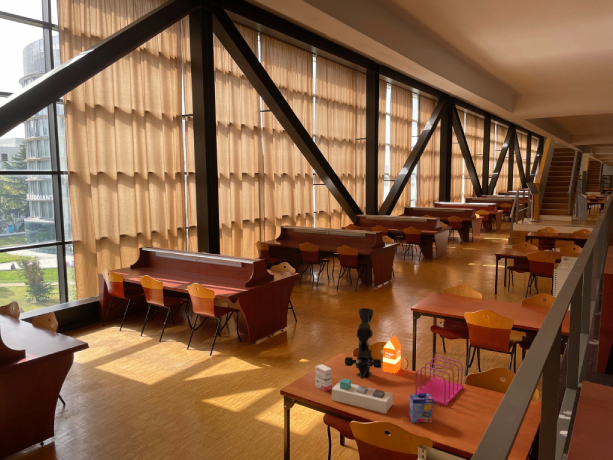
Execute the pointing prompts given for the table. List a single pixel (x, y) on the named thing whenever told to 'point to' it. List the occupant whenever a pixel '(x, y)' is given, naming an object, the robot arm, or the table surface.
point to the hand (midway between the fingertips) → (362, 378)
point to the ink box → (323, 377)
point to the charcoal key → (378, 393)
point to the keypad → (362, 398)
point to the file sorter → (440, 384)
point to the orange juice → (392, 356)
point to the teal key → (345, 384)
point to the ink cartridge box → (421, 407)
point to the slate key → (361, 389)
